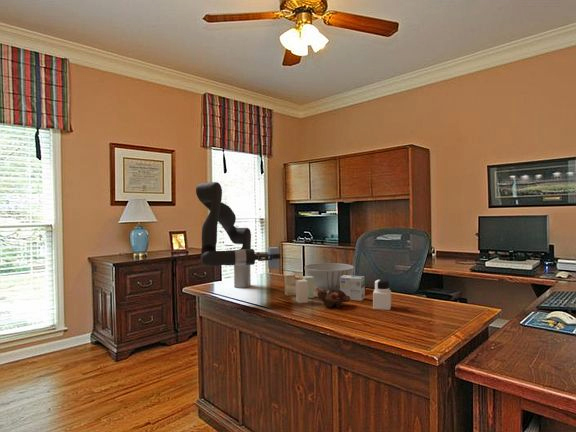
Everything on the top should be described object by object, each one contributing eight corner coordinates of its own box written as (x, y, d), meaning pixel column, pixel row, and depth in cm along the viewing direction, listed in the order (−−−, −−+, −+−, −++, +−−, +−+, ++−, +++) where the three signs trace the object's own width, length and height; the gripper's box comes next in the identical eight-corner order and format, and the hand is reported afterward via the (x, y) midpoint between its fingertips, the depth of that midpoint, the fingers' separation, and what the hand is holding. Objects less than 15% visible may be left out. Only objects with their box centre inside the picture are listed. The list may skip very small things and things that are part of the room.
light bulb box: (365, 298, 180) (364, 275, 180) (361, 301, 174) (361, 278, 173) (343, 296, 184) (343, 274, 184) (339, 299, 178) (339, 276, 178)
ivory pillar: (296, 301, 175) (295, 280, 175) (304, 300, 177) (304, 279, 176) (298, 303, 171) (298, 281, 171) (307, 302, 172) (307, 281, 172)
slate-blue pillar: (268, 267, 182) (268, 247, 181) (276, 267, 183) (276, 247, 183) (270, 269, 177) (270, 248, 177) (279, 268, 179) (278, 248, 178)
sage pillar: (302, 296, 185) (302, 276, 185) (311, 295, 186) (310, 275, 186) (305, 298, 181) (305, 277, 180) (314, 297, 182) (313, 277, 182)
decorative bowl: (342, 296, 183) (342, 272, 183) (295, 291, 197) (295, 268, 197) (361, 286, 206) (361, 264, 206) (318, 282, 220) (318, 261, 220)
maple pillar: (284, 293, 191) (284, 274, 190) (293, 293, 192) (292, 274, 192) (287, 295, 186) (287, 275, 186) (295, 295, 188) (295, 275, 187)
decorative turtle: (313, 305, 167) (313, 287, 168) (343, 304, 172) (344, 287, 172) (321, 309, 158) (322, 290, 159) (353, 308, 163) (354, 290, 163)
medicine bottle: (391, 306, 164) (390, 279, 164) (390, 310, 158) (389, 282, 157) (374, 305, 167) (374, 278, 166) (372, 309, 160) (372, 281, 160)
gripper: (246, 250, 169) (282, 249, 174) (241, 247, 183) (275, 246, 188) (246, 267, 169) (282, 265, 174) (241, 263, 183) (275, 261, 188)
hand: (278, 255), depth 181 cm, fingers closed on slate-blue pillar, 4 cm apart
